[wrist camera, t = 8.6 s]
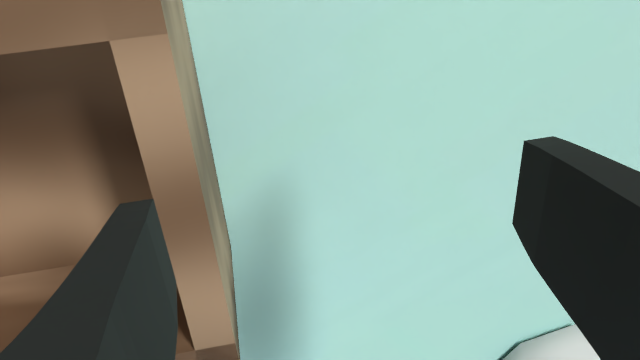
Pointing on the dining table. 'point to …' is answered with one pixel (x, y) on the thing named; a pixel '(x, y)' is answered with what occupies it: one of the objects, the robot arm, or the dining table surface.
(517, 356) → the flask
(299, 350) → the dining table surface
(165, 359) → the robot arm
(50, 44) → the cabinet
